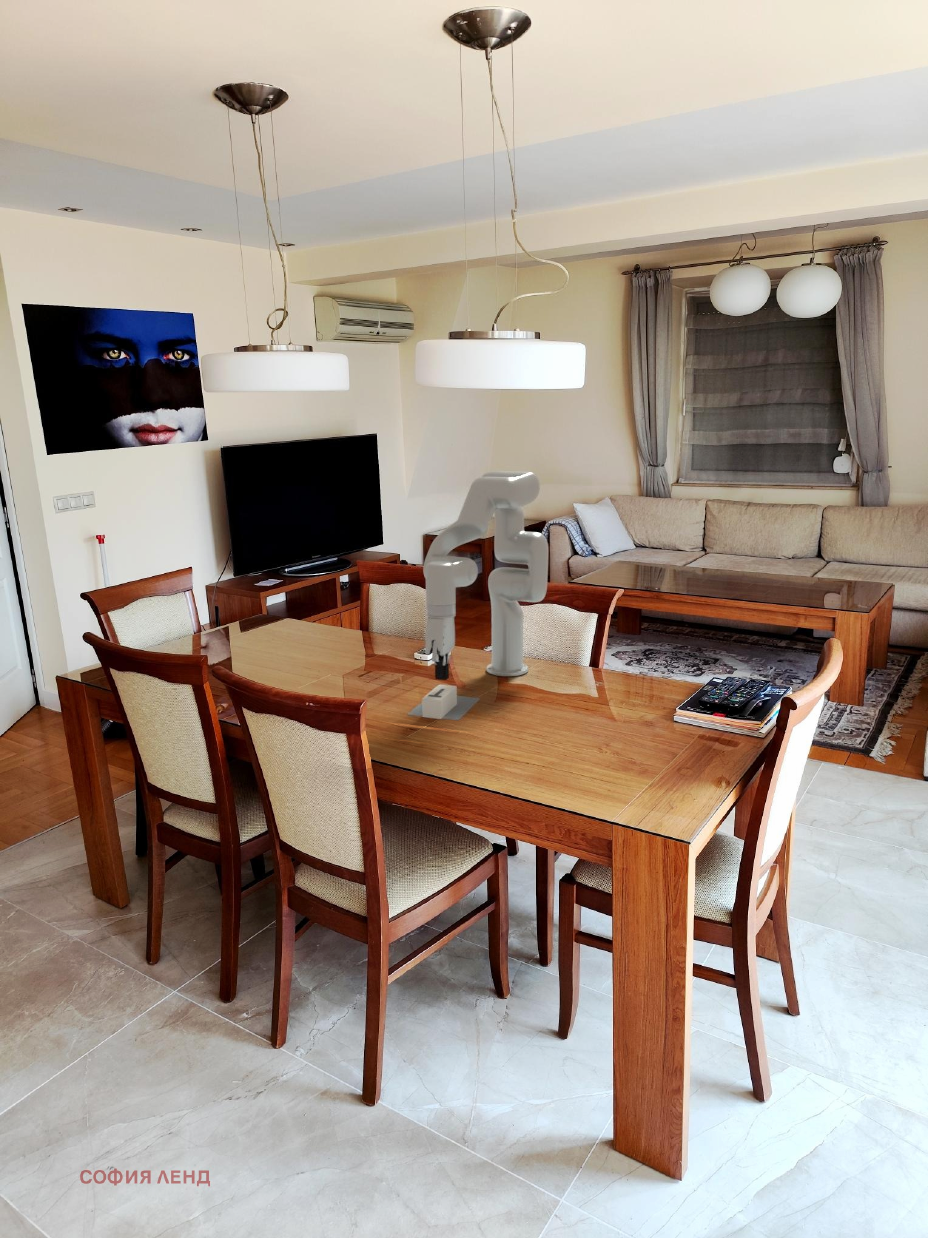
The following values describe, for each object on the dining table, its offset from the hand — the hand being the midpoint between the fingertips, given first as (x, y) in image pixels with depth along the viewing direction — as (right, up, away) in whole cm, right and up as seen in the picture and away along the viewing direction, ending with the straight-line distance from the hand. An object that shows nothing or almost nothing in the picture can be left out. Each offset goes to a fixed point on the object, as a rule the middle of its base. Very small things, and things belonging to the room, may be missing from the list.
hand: (442, 678), depth 220 cm
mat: (+1, -8, +4) cm, 9 cm away
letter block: (+1, -4, +5) cm, 7 cm away
